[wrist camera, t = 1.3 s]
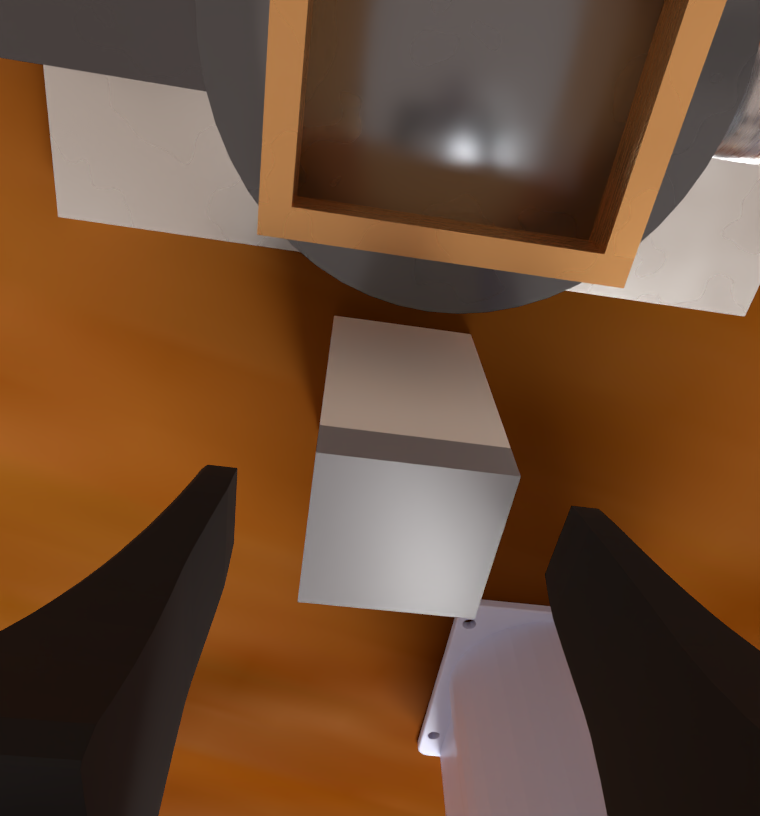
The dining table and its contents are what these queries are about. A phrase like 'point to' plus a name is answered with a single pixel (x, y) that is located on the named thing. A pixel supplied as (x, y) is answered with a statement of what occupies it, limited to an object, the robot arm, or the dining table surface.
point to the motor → (421, 138)
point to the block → (406, 474)
